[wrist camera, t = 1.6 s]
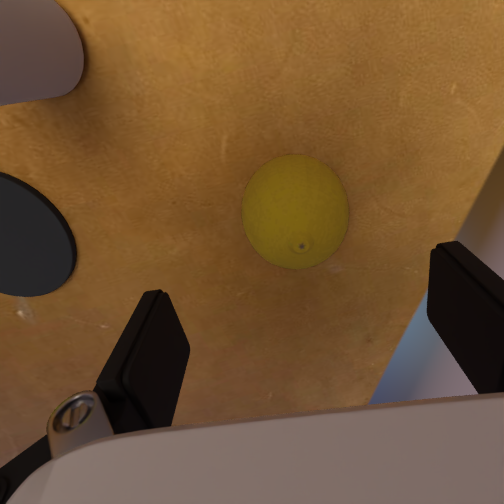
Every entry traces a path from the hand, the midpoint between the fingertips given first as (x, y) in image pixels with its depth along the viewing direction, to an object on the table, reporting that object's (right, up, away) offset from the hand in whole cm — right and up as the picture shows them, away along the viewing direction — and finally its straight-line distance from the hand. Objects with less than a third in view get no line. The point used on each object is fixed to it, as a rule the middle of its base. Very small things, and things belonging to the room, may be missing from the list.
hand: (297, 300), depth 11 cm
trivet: (-19, +3, +12) cm, 23 cm away
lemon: (+1, +6, +9) cm, 11 cm away
